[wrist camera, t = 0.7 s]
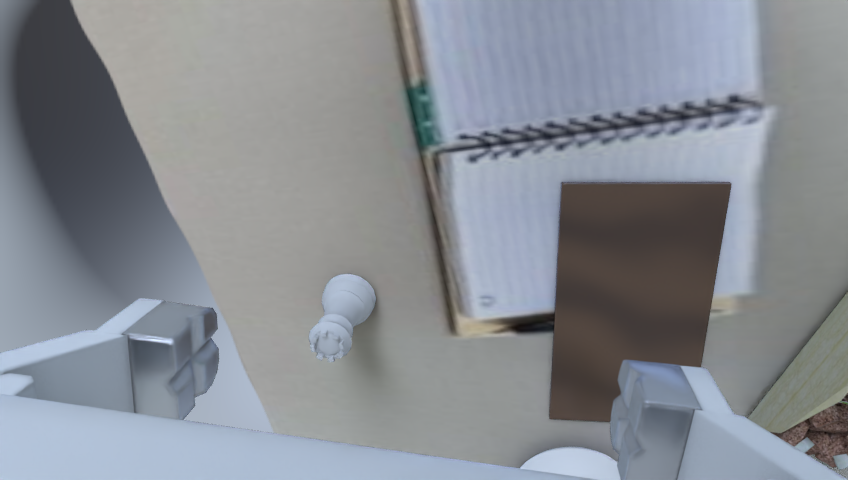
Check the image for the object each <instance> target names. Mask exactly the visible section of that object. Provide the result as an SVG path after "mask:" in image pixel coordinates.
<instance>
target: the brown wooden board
mask: <svg viewBox="0 0 848 480" xmlns="http://www.w3.org/2000/svg"><path fill="white" fill-rule="evenodd" d="M730 190H731V183H730V182H562V183H561V199H560V219H559V238H558V258H557V278H556V297H555V317H554V336H553V356H552V375H551V395H550V414H549V417H550V419H561V420H583V421H606V422H611V412H612V406H613V400H614V399H616V398H617V397H618V396H619V395H620V394H621V390H620V387H619V383H618V376H619V371H620V367H621V365H622V362H623V360H636V361H646V362H655V363H665V364H675V365H680V366H691V367H701V362H702V356H703V350H704V344H705V338H706V332H707V326H708V320H709V315H710V309H711V303H712V297H713V291H714V285H715V279H716V273H717V267H718V261H719V255H720V249H721V243H722V237H723V231H724V225H725V219H726V213H727V208H728V202H729V196H730Z"/></svg>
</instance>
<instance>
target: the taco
mask: <svg viewBox="0 0 848 480" xmlns="http://www.w3.org/2000/svg"><path fill="white" fill-rule="evenodd" d="M747 419H749V420H751V421H752V422H754V423H756V424H757V425H759V426H761V427H762V428H764V429H766V430H767V431H769V432H771V433H772V434H774V435H775V436H777V437H779V438H780V439H782V440H784V441H785V442H787V443H789V444H790V445H792V446H794V447H795V448H797V449H799V450H800V451H802V452H803V453H805V454H807V455H812V454H815V457H816V458H818V459H819V460H821V461H822V464H824V465H829V466H831V467H837V468H838V469H839V470H840V469H844V468H847V467H848V292H847V293H846V295H845V296H844V297H843V298H842V300H841V301H840V302H839V303H838V305H837V306H836V307H835V308H834V310H833V311H832V312H831V314H830V315H829V316H828V317H827V319H826V320H825V321H824V322H823V324H822V325H821V326H820V327H819V329H818V330H817V331H816V332H815V334H814V335H813V336H812V338H811V339H810V340H809V341H808V343H807V344H806V345H805V346H804V348H803V349H802V350H801V351H800V353H799V354H798V355H797V356H796V358H795V359H794V360H793V361H792V363H791V364H790V365H789V367H788V368H787V369H786V370H785V372H784V373H783V374H782V375H781V377H780V378H779V379H778V380H777V382H776V383H775V384H774V385H773V387H772V388H771V389H770V390H769V392H768V393H767V394H766V396H765V397H764V398H763V399H762V401H761V402H760V403H759V404H758V406H757V407H756V408H755V409H754V411H753V412H752V413H751V414H750V416H749V417H748V418H747Z"/></svg>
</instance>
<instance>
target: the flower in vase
mask: <svg viewBox="0 0 848 480" xmlns="http://www.w3.org/2000/svg"><path fill="white" fill-rule="evenodd" d="M617 463H618V462H617V461H615V460H614V459H612V458H610V457H609V456H607V455H605V454H603V453H601V452H599V451H595V450H592V449H588V448H583V447H558V448H553V449H550V450H546V451H543V452H541V453H539V454H537V455H535V456H533V457H532V458H530V459H529V460H528V461H527V462H525V463H524V464H523V465H522V466H521V467H520V469H527V470H534V471H541V472H548V473H555V474H562V475H569V476H576V477H583V478H590V479H597V480H621V479H620V475H619V471H618V467H617Z"/></svg>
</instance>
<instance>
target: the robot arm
mask: <svg viewBox="0 0 848 480" xmlns="http://www.w3.org/2000/svg"><path fill="white" fill-rule="evenodd" d="M217 329H218V326H217V314H216V312H215V311H214V309H213V308H210V307H202V306H195V305H189V304H182V303H175V302H166V301H165V300H154V299H141V298H139V299H138V300H136V301H135V302H134V303H132V304H131V305H129V306H128V307H127V308H125V309H124V310H123V311H121V312H120V313H119V314H117V315H116V316H114V317H113V318H112V319H110V320H109V321H107V322H106V323H105V324H103V325H102V326H101V327H99V328H98V329H96V330H95V331H91V330H85V331H81V332H78V333H74V334H70V335H66V336H62V337H58V338H55V339H51V340H47V341H43V342H39V343H36V344H32V345H28V346H24V347H20V348H16V349H12V350H8V351H5V352H1V353H0V480H597V479H590V478H583V477H576V476H569V475H562V474H555V473H548V472H541V471H534V470H527V469H520V468H513V467H506V466H499V465H492V464H485V463H478V462H471V461H464V460H457V459H451V458H444V457H437V456H430V455H423V454H416V453H409V452H402V451H395V450H388V449H381V448H374V447H367V446H360V445H353V444H346V443H339V442H333V441H326V440H319V439H312V438H305V437H298V436H291V435H284V434H277V433H270V432H262V431H256V430H249V429H242V428H235V427H228V426H222V425H221V426H220V425H214V424H208V423H200V422H194V421H187V420H184V418H185V417H186V416H187V415H188V414H189V412H190V411H191V410H192V409H193V408H194V406H195V397H197V396H199V395H202V394H204V393H206V392H207V390H208V389H209V388H210V386H211V385H212V384H213V381H214V379H215V376H216V373H217V370H218V362H219V349H218V347H217V346H216V344H215V343H214V341H213V340H212V339H211V337H212V336H213V334H214V333H215V332H216V330H217ZM618 383H619V387H620V390H621V394H620V395H619V396H618V397H617V398H616V399H614V400H613V406H612V412H611V422H610V435H611V442H612V447H613V450H615V451H616V452H617V453H618V454H619V458H618V463H617V467H618V471H619V475H620V479H621V480H848V479H846V478H845V477H843V476H841V475H840V474H838V473H836V472H835V471H833V470H831V469H830V468H828V467H827V466H825V465H823V464H822V463H820V462H818V461H817V460H815V459H813V458H812V457H810V456H808V455H807V454H805V453H803V452H802V451H800V450H799V449H797V448H795V447H794V446H792V445H790V444H789V443H787V442H785V441H784V440H782V439H780V438H779V437H777V436H775V435H774V434H772V433H771V432H769V431H767V430H766V429H764V428H762V427H761V426H759V425H757V424H756V423H754V422H752V421H751V420H749V419H747V418H746V417H744V416H740V415H735V414H734V413H733V411H732V409H731V408H730V406H729V404H728V403H727V401H726V399H725V398H724V396H723V394H722V393H721V391H720V389H719V388H718V386H717V384H716V383H715V381H714V379H713V377H712V376H711V374H710V372H709V371H708V370H707V369H705V368H703V367H691V366H680V365H675V364H665V363H655V362H646V361H636V360H623V362H622V365H621V367H620V371H619V376H618Z"/></svg>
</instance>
